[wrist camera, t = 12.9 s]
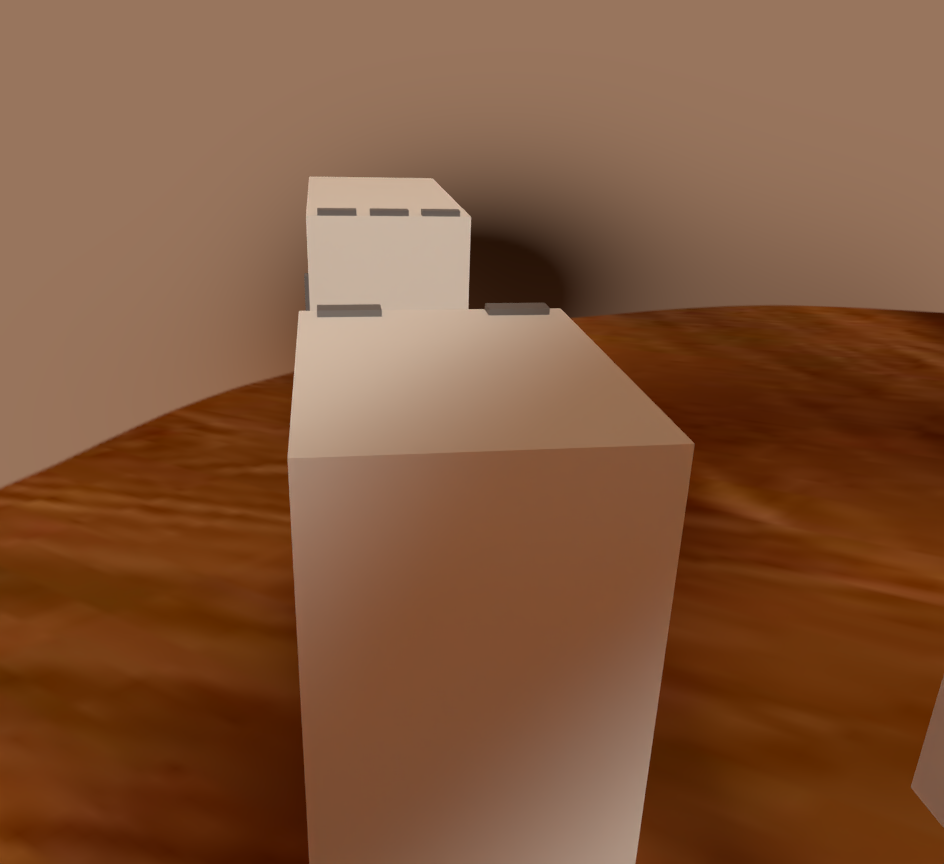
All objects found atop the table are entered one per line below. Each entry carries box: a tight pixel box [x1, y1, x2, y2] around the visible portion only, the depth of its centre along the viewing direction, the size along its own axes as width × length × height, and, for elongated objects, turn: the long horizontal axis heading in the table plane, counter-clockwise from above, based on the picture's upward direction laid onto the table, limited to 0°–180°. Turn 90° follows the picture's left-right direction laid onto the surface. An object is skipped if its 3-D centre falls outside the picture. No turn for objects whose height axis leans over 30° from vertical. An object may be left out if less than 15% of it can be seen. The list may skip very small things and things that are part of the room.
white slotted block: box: [304, 177, 471, 311], centre depth 39 cm, size 6×12×12 cm, turn 9°
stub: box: [288, 303, 695, 864], centre depth 19 cm, size 6×8×12 cm
